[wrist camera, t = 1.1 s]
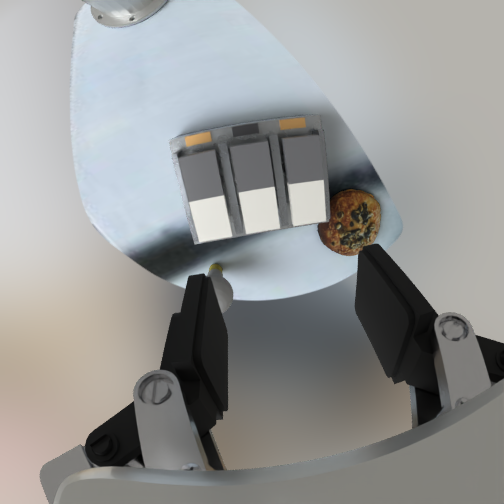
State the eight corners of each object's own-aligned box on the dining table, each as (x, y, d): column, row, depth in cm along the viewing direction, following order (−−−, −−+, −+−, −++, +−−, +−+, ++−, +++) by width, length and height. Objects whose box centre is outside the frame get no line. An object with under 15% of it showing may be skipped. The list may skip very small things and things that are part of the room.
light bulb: (218, 245, 42) (214, 284, 33) (239, 269, 44) (241, 310, 35) (192, 264, 43) (182, 304, 34) (214, 286, 45) (210, 328, 37)
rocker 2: (230, 145, 28) (230, 147, 26) (266, 139, 28) (267, 141, 26) (245, 229, 32) (246, 234, 31) (278, 223, 32) (280, 228, 31)
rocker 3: (281, 138, 27) (283, 139, 26) (315, 134, 27) (319, 135, 26) (291, 221, 32) (293, 226, 31) (322, 216, 32) (326, 221, 31)
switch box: (177, 136, 33) (163, 142, 27) (309, 114, 33) (327, 115, 26) (199, 228, 40) (192, 253, 34) (318, 208, 40) (335, 229, 33)
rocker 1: (180, 156, 28) (178, 158, 27) (215, 148, 28) (214, 150, 26) (200, 237, 33) (199, 242, 31) (232, 231, 33) (232, 236, 31)
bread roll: (303, 211, 40) (316, 223, 35) (360, 173, 39) (378, 180, 34) (331, 262, 45) (344, 278, 41) (380, 227, 44) (397, 239, 40)
